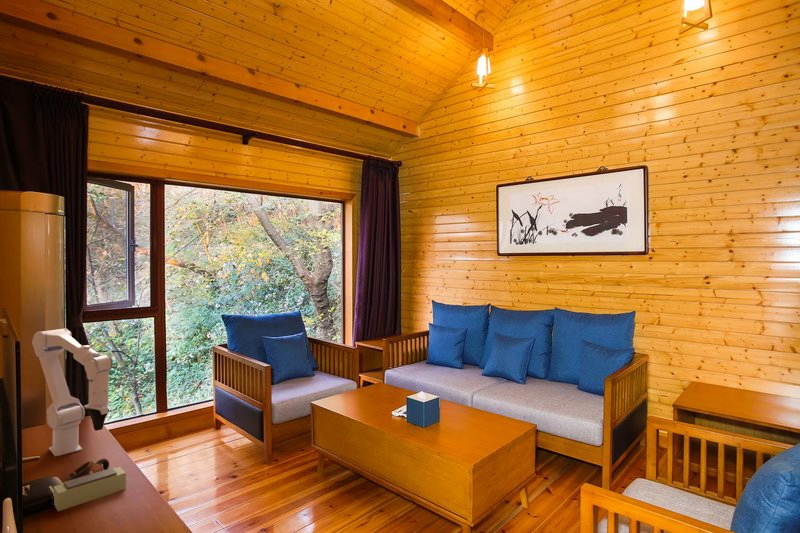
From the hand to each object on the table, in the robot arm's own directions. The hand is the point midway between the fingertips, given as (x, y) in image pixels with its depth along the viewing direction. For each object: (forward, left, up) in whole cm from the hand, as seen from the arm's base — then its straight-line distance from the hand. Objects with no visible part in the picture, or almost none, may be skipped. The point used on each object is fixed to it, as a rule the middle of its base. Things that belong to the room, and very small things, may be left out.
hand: (98, 429), depth 155 cm
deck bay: (+24, -9, -10) cm, 28 cm away
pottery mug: (+20, -7, -10) cm, 23 cm away
